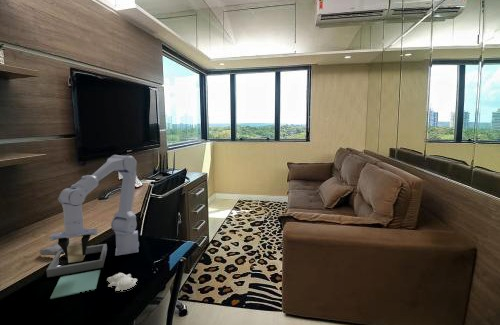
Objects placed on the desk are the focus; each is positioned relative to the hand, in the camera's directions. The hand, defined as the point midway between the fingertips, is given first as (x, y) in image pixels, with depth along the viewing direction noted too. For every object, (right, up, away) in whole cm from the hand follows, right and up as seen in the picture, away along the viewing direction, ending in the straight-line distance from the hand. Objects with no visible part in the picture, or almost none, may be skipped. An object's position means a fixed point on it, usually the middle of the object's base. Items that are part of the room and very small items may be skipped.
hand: (76, 255), depth 97 cm
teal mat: (+3, -9, -3) cm, 10 cm away
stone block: (-22, -6, +20) cm, 30 cm away
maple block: (0, -2, 0) cm, 2 cm away
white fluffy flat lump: (+18, -10, -2) cm, 21 cm away
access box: (-6, -7, +11) cm, 15 cm away
